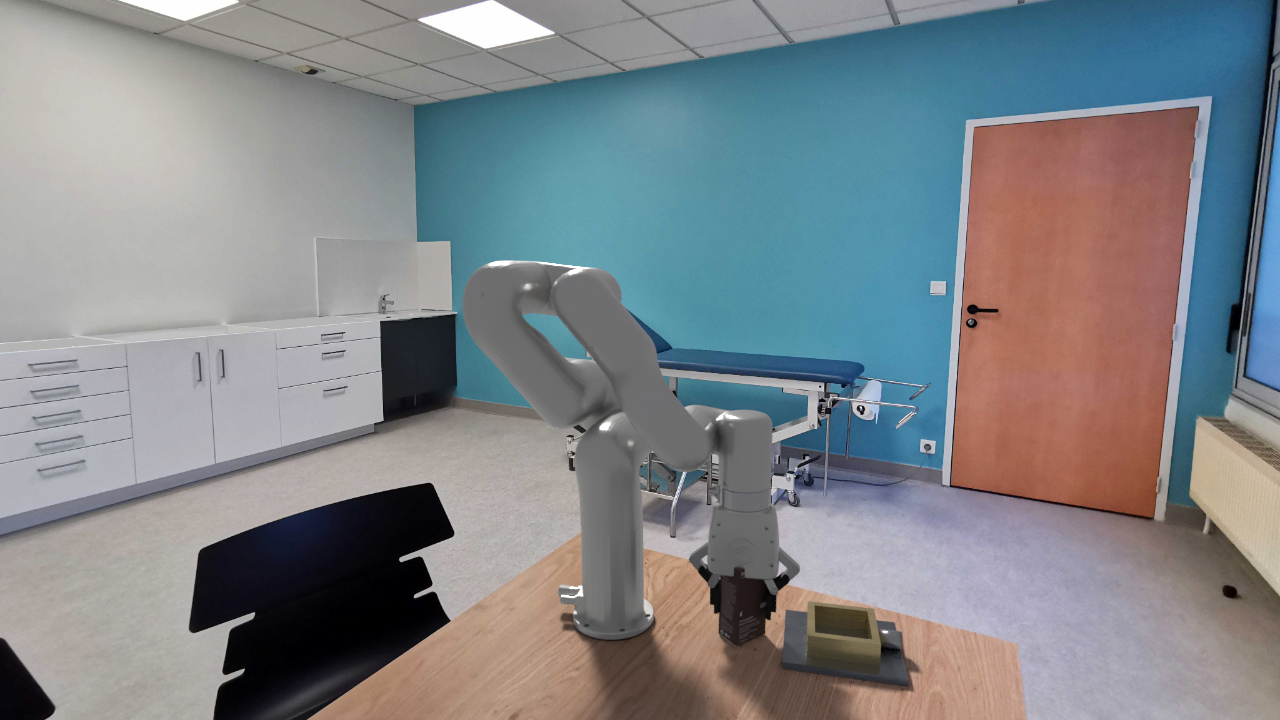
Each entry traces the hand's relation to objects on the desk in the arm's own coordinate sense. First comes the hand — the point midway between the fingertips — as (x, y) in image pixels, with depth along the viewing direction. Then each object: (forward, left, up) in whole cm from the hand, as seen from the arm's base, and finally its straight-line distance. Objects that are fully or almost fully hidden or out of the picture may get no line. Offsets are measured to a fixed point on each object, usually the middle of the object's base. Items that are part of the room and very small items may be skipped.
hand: (742, 611), depth 96 cm
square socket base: (+14, 0, -4) cm, 14 cm away
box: (0, 0, -4) cm, 4 cm away
